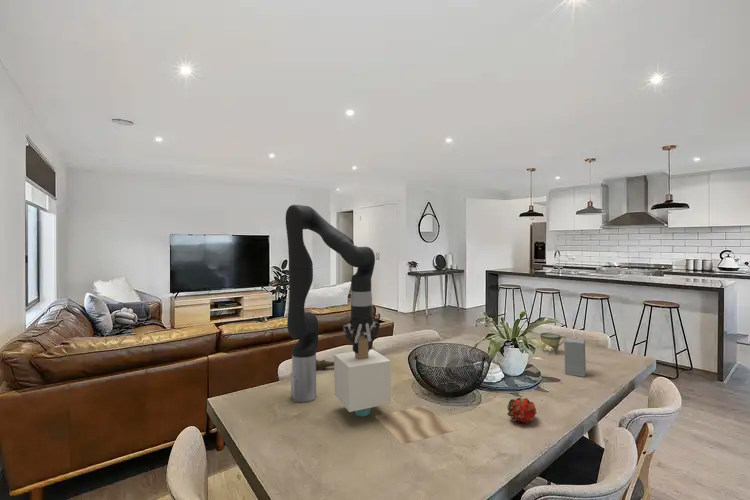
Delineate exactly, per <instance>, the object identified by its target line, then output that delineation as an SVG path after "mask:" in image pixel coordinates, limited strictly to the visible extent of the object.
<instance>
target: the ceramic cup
mask: <svg viewBox="0 0 750 500" xmlns="http://www.w3.org/2000/svg"><path fill="white" fill-rule="evenodd" d="M563 338H564V340H563V341H561V339H563ZM566 338H567V337H565V336H563V335H561V334H559V333H555V332H542V333H540V341H541V342H542V341H543V342H544V343H545V344H547V345H549V346H551V347H552V348H553V350H552V351H549V350H543V349H542V350H543V354H545V353H548V354H547V355H550V354H555V355H558V352H559V347H560V346H561V345H562V344H564V341H565V339H566Z"/></svg>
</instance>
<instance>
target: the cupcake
mask: <svg viewBox="0 0 750 500" xmlns="http://www.w3.org/2000/svg"><path fill="white" fill-rule="evenodd" d="M371 409H372V408H367V409H362V410H357V411H354V413H355V415H356V416H358V417H366V416H369V415H370V412H371Z"/></svg>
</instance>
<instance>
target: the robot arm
mask: <svg viewBox="0 0 750 500" xmlns="http://www.w3.org/2000/svg"><path fill="white" fill-rule="evenodd" d="M285 227H286V228H285V229H286V235H287V249H288V250H287V251H288V308H287V309H288V311H287V322H286V323H287V324H286V325H287V331H288V335H289V336H290V337H291V339H293V340H298V341H297V342H296V343H295V345H293V347H292V348H291V349H292V350H291V362H292V363H291V365H292V366H291V370H292V371H291V373H290V394H291V395H290V397H291V400H293V402H294V403H307V402H312V401H314V400H316V398H317V370H316V360H317V348H318V345H319V331H320V330H319V321H318V318H317V316H316V315H315V313H313V312H312V311H311V312H310V311H307V312H305V306H306V305H305V304H306V298H307V296H308V294H309V292H310V289H311V286H312V285H313V281H314V266H313V265H314V264H313V260H312V258H311V255H310V253H309V252H308V249H307V247H306V244H305V242H304V231H303V230H309V231H311V232H314V233H316V234H318V235H319V237H321V240H322V241H323V242H324V244H325V245H326V246H328V247H329V248H330V249H331V250H333V251H335V252H336V253H337V254H338V255H340V257H341V258H342V259H343V260H344V261H345V262H346V263H347V264H348V266H349V265H350V266H351V267H354V268H357V269H356V270H357V271H356V272H355V273H354V274H353V275H352V276H351V279H350V281H351V282H350V286H351V287H350V288H351V291H350V292H351V293H350V321H349V323H347V324H343V325H342V329H343V331H344V333H345V337H346V339H347V341H348V342H351V343H352V352H354V353H356V354H357V353H358V343H357V342H358V338H359V337H361V336H360V335H361V333H363V334H364V335H363V336H365V337H367V338H368V352H369V350H371V349H372V347H371V342H372V340H375V339H376V338H377V335H378V332H379V329H380V326H381V323H380V322H378V321H374V319H373V294H372V276H373V273H374V269H375V264H376V255H375V253H374V251H373V249H372V248H371V247H369V246H357V245H355V243H354V241H353V239H352V238H351V237H349V236H348V235H346V233H343V232H342V231H340V230H339V229H337V228H336V227H334V226H333V225H332V224H330V223H329V222H328V221H327V220H326V219H324V217H323V216H321V215H320V214H319V213H318V212H317V210H315V209H314V208H312V207H311V206H308V205H302V204H301V205H300V204H291V205H289V206H288V208H287V209H286V211H285ZM371 327H372V329H371V330H370V328H371ZM351 328H352V330H353V331H352V333H351Z"/></svg>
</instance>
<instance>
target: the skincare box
mask: <svg viewBox="0 0 750 500" xmlns="http://www.w3.org/2000/svg"><path fill="white" fill-rule="evenodd" d="M563 341H564V342H563V344H564V345H563V347H564V373H565V375H567V376H568V375H569V376H574V377H575V376H576V377H583V378H585V377H586V374H587V373H586V372H587V363H586V339H581V338H570V337H569V338H568V337H566V339H565V338H564V340H563Z"/></svg>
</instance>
